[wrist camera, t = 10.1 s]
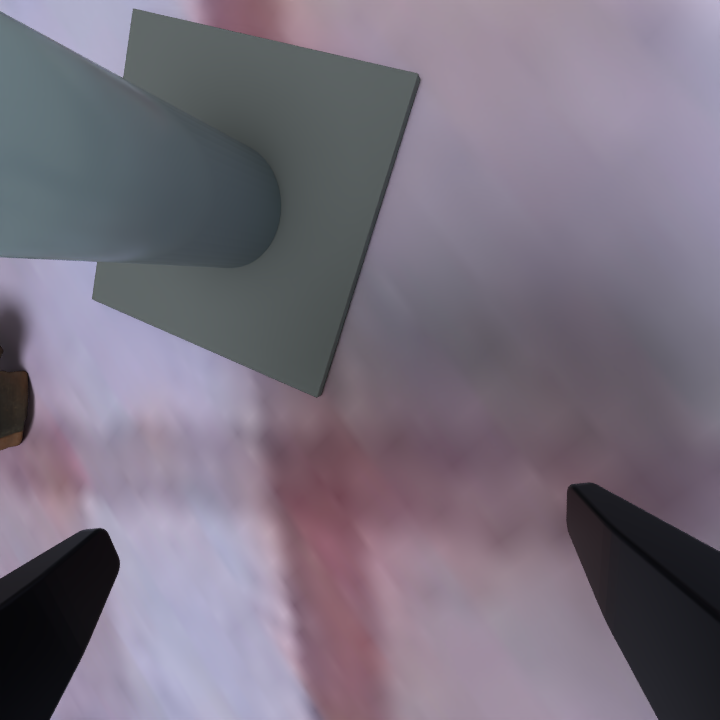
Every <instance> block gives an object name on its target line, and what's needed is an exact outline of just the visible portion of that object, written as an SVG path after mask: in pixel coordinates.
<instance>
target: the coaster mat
mask: <svg viewBox="0 0 720 720" xmlns="http://www.w3.org/2000/svg"><path fill="white" fill-rule="evenodd" d="M123 78H124V79H126V80H127V81H129V82H131V83H133V84H135V85H137V86H138V87H140V88H142V89H144V90H146V91H148V92H149V93H151V94H153V95H155V96H157V97H159V98H160V99H162V100H164V101H166V102H168V103H170V104H172V105H173V106H175V107H177V108H179V109H181V110H183V111H184V112H186V113H188V114H190V115H192V116H194V117H195V118H197V119H199V120H201V121H203V122H205V123H206V124H208V125H210V126H212V127H214V128H216V129H217V130H219V131H221V132H223V133H225V134H227V135H228V136H230V137H232V138H234V139H236V140H238V141H239V142H241V143H243V144H245V145H247V146H249V147H250V148H252V149H254V150H255V151H256V152H258V153H259V154H260V155H261V156H262V157H263V158H264V159H265V160H266V162H267V163H268V164H269V166H270V168H271V169H272V171H273V173H274V175H275V178H276V180H277V183H278V187H279V191H280V198H281V214H280V221H279V225H278V229H277V232H276V234H275V236H274V239H273V240H272V242H271V244H270V245H269V247H268V248H267V250H266V251H265V252H264V253H263V254H262V255H261V256H260V257H259V258H257V259H256V260H255V261H253V262H251V263H250V264H247V265H245V266H242V267H238V268H214V267H193V266H173V265H152V264H131V263H111V262H97V267H96V274H95V281H94V288H93V295H92V299H93V300H95V301H97V302H100V303H102V304H104V305H106V306H109V307H111V308H113V309H116V310H118V311H120V312H122V313H125V314H127V315H129V316H131V317H134V318H136V319H138V320H141V321H143V322H145V323H147V324H150V325H152V326H154V327H157V328H159V329H161V330H163V331H166V332H168V333H170V334H173V335H175V336H177V337H179V338H182V339H184V340H186V341H189V342H191V343H193V344H195V345H198V346H200V347H202V348H205V349H207V350H209V351H211V352H214V353H216V354H218V355H221V356H223V357H225V358H227V359H230V360H232V361H234V362H236V363H239V364H241V365H243V366H246V367H248V368H250V369H252V370H255V371H257V372H259V373H262V374H264V375H266V376H268V377H271V378H273V379H275V380H278V381H280V382H282V383H284V384H287V385H289V386H291V387H294V388H296V389H298V390H300V391H303V392H305V393H307V394H310V395H312V396H314V397H316V398H317V397H319V396H320V395H321V393H322V390H323V387H324V384H325V381H326V378H327V374H328V371H329V368H330V365H331V362H332V359H333V355H334V352H335V349H336V346H337V343H338V339H339V336H340V333H341V330H342V327H343V324H344V320H345V317H346V314H347V311H348V308H349V305H350V301H351V298H352V295H353V292H354V289H355V285H356V282H357V279H358V276H359V273H360V270H361V266H362V263H363V260H364V257H365V254H366V251H367V247H368V244H369V241H370V238H371V235H372V231H373V228H374V225H375V222H376V219H377V216H378V212H379V209H380V206H381V203H382V200H383V197H384V193H385V190H386V187H387V184H388V181H389V177H390V174H391V171H392V168H393V165H394V162H395V158H396V155H397V152H398V149H399V146H400V143H401V139H402V136H403V133H404V130H405V127H406V123H407V120H408V117H409V114H410V111H411V108H412V104H413V101H414V98H415V95H416V92H417V89H418V85H419V82H420V77H419V75H418V74H417V73H413V72H409V71H404V70H400V69H396V68H391V67H387V66H382V65H378V64H374V63H369V62H365V61H361V60H356V59H352V58H347V57H343V56H339V55H334V54H330V53H326V52H321V51H317V50H312V49H308V48H304V47H299V46H295V45H291V44H286V43H282V42H277V41H273V40H269V39H264V38H260V37H256V36H251V35H247V34H242V33H238V32H234V31H229V30H225V29H221V28H216V27H212V26H207V25H203V24H199V23H194V22H190V21H186V20H181V19H177V18H172V17H168V16H164V15H159V14H155V13H151V12H146V11H142V10H137V9H133V13H132V20H131V27H130V34H129V41H128V48H127V55H126V62H125V69H124V76H123Z"/></svg>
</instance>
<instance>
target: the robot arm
mask: <svg viewBox="0 0 720 720" xmlns="http://www.w3.org/2000/svg"><path fill="white" fill-rule="evenodd" d="M566 522H567V528H568V532H569V535H570V537H571V540H572V542H573V545H574V547H575V549H576V552H577V554H578V557H579V559H580V561H581V564H582V566H583V569H584V571H585V573H586V576H587V578H588V581H589V583H590V585H591V588H592V590H593V593H594V595H595V598H596V600H597V602H598V605H599V607H600V609H601V612H602V614H603V616H604V618H605V620H606V622H607V624H608V626H609V628H610V630H611V632H612V634H613V636H614V638H615V640H616V642H617V644H618V645H619V647H620V649H621V651H622V653H623V655H624V657H625V658H626V660H627V662H628V664H629V666H630V668H631V670H632V671H633V673H634V675H635V677H636V679H637V681H638V683H639V684H640V686H641V688H642V690H643V692H644V694H645V696H646V697H647V699H648V701H649V703H650V705H651V707H652V709H653V710H654V712H655V714H656V716H657V718H658V720H720V551H718V550H716V549H714V548H712V547H710V546H709V545H707V544H705V543H703V542H701V541H699V540H698V539H696V538H694V537H692V536H690V535H688V534H687V533H685V532H683V531H681V530H679V529H677V528H676V527H674V526H672V525H670V524H668V523H666V522H665V521H663V520H661V519H659V518H657V517H655V516H654V515H652V514H650V513H648V512H646V511H644V510H643V509H641V508H639V507H637V506H635V505H633V504H632V503H630V502H628V501H626V500H624V499H622V498H621V497H619V496H617V495H615V494H613V493H611V492H610V491H608V490H606V489H604V488H602V487H600V486H599V485H597V484H594V483H579V484H571V485H570V486H569V487H568V490H567V517H566ZM119 568H120V560H119V557H118V554H117V552H116V550H115V548H114V545H113V543H112V541H111V538H110V536H109V534H108V532H107V531H106V530H105V529H102V528H96V529H86V530H82V531H79V532H78V533H76V534H74V535H73V536H71V537H69V538H68V539H66V540H64V541H63V542H61V543H59V544H58V545H56V546H54V547H52V548H51V549H49V550H47V551H46V552H44V553H42V554H41V555H39V556H37V557H36V558H34V559H32V560H31V561H29V562H27V563H26V564H24V565H22V566H21V567H19V568H17V569H16V570H14V571H12V572H11V573H9V574H7V575H6V576H4V577H2V578H1V579H0V720H50V718H51V716H52V714H53V713H54V711H55V709H56V707H57V705H58V703H59V701H60V699H61V697H62V695H63V693H64V691H65V689H66V688H67V686H68V684H69V682H70V680H71V678H72V676H73V674H74V672H75V670H76V668H77V666H78V664H79V662H80V660H81V658H82V656H83V654H84V652H85V650H86V648H87V645H88V643H89V641H90V639H91V636H92V634H93V631H94V629H95V627H96V624H97V622H98V620H99V617H100V615H101V612H102V610H103V608H104V605H105V603H106V601H107V598H108V596H109V594H110V591H111V589H112V586H113V584H114V582H115V579H116V577H117V575H118V572H119Z"/></svg>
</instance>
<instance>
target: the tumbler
mask: <svg viewBox="0 0 720 720" xmlns="http://www.w3.org/2000/svg"><path fill="white" fill-rule="evenodd" d="M280 214H281V198H280V191H279V187H278V183H277V180H276V178H275V175H274V173H273V171H272V169H271V168H270V166H269V164H268V163H267V162H266V160H265V159H264V158H263V157H262V156H261V155H260V154H259V153H258V152H256V151H255V150H254V149H252V148H250V147H249V146H247V145H245V144H243V143H241V142H239V141H238V140H236V139H234V138H232V137H230V136H228V135H227V134H225V133H223V132H221V131H219V130H217V129H216V128H214V127H212V126H210V125H208V124H206V123H205V122H203V121H201V120H199V119H197V118H195V117H194V116H192V115H190V114H188V113H186V112H184V111H183V110H181V109H179V108H177V107H175V106H173V105H172V104H170V103H168V102H166V101H164V100H162V99H160V98H159V97H157V96H155V95H153V94H151V93H149V92H148V91H146V90H144V89H142V88H140V87H138V86H137V85H135V84H133V83H131V82H129V81H127V80H126V79H124V78H122V77H120V76H118V75H116V74H115V73H113V72H111V71H109V70H107V69H105V68H104V67H102V66H100V65H98V64H96V63H94V62H93V61H91V60H89V59H87V58H85V57H83V56H82V55H80V54H78V53H76V52H74V51H72V50H71V49H69V48H67V47H65V46H63V45H61V44H59V43H58V42H56V41H54V40H52V39H50V38H48V37H47V36H45V35H43V34H41V33H39V32H37V31H36V30H34V29H32V28H30V27H28V26H26V25H25V24H23V23H21V22H19V21H17V20H15V19H14V18H12V17H10V16H8V15H6V14H4V13H3V12H1V11H0V257H7V258H28V259H49V260H69V261H90V262H111V263H131V264H152V265H173V266H193V267H214V268H238V267H242V266H245V265H247V264H250V263H251V262H253V261H255V260H256V259H257V258H259V257H260V256H261V255H262V254H263V253H264V252H265V251H266V250H267V248H268V247H269V245H270V244H271V242H272V240H273V239H274V236H275V234H276V232H277V229H278V225H279V221H280Z"/></svg>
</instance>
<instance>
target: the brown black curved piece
mask: <svg viewBox="0 0 720 720" xmlns="http://www.w3.org/2000/svg"><path fill="white" fill-rule="evenodd" d="M2 353H3V349H2V347H1V346H0V358H1V356H2ZM27 407H28V374H27V373H26V372H25V371H14V372H6V371H0V450H3V449H6V448H8V447H13V446H17V445H19V444H20V443H21V440H22V438H23V436H22V434H23V429H24V422H25V419H26V417H27Z"/></svg>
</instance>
